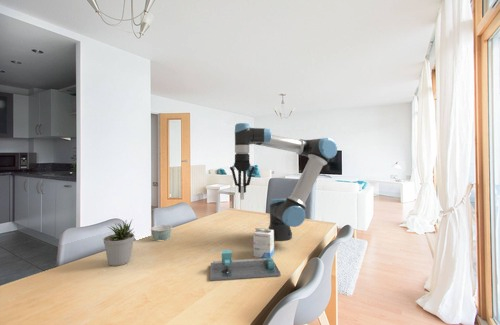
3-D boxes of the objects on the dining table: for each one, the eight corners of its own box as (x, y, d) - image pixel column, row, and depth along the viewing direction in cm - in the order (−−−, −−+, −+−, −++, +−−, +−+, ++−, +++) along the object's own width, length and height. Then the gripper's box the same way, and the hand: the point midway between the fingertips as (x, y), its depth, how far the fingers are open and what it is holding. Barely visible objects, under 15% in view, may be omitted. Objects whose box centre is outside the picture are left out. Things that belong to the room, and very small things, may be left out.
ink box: (274, 252, 125) (274, 226, 125) (270, 258, 118) (270, 230, 117) (258, 250, 128) (258, 224, 128) (253, 256, 120) (253, 229, 120)
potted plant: (102, 271, 104) (101, 224, 104) (104, 259, 116) (103, 217, 116) (135, 265, 110) (135, 220, 109) (133, 255, 122) (133, 214, 122)
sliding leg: (230, 263, 109) (230, 249, 109) (232, 270, 101) (232, 256, 101) (221, 263, 108) (221, 250, 108) (222, 271, 101) (222, 257, 101)
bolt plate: (272, 261, 114) (272, 252, 114) (280, 275, 100) (280, 265, 100) (210, 265, 110) (210, 256, 110) (210, 280, 96) (210, 270, 96)
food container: (155, 243, 139) (155, 231, 139) (147, 238, 148) (147, 227, 148) (175, 238, 147) (175, 227, 147) (167, 234, 156) (167, 223, 156)
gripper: (253, 153, 133) (253, 197, 134) (229, 153, 131) (229, 198, 132) (255, 153, 126) (255, 199, 126) (230, 153, 124) (230, 200, 124)
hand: (242, 199), depth 129 cm, fingers closed
